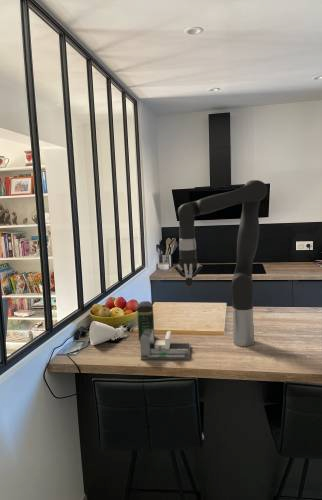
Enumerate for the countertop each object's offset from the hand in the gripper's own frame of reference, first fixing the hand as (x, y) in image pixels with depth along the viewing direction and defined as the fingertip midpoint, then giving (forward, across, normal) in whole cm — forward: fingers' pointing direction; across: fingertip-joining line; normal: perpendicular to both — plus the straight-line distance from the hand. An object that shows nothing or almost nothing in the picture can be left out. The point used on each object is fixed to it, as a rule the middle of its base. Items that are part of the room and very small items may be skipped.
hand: (189, 285), depth 170 cm
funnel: (+29, +41, -6) cm, 51 cm away
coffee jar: (+29, +23, -9) cm, 38 cm away
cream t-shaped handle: (+28, +12, +9) cm, 32 cm away
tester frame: (+29, +11, +8) cm, 32 cm away
